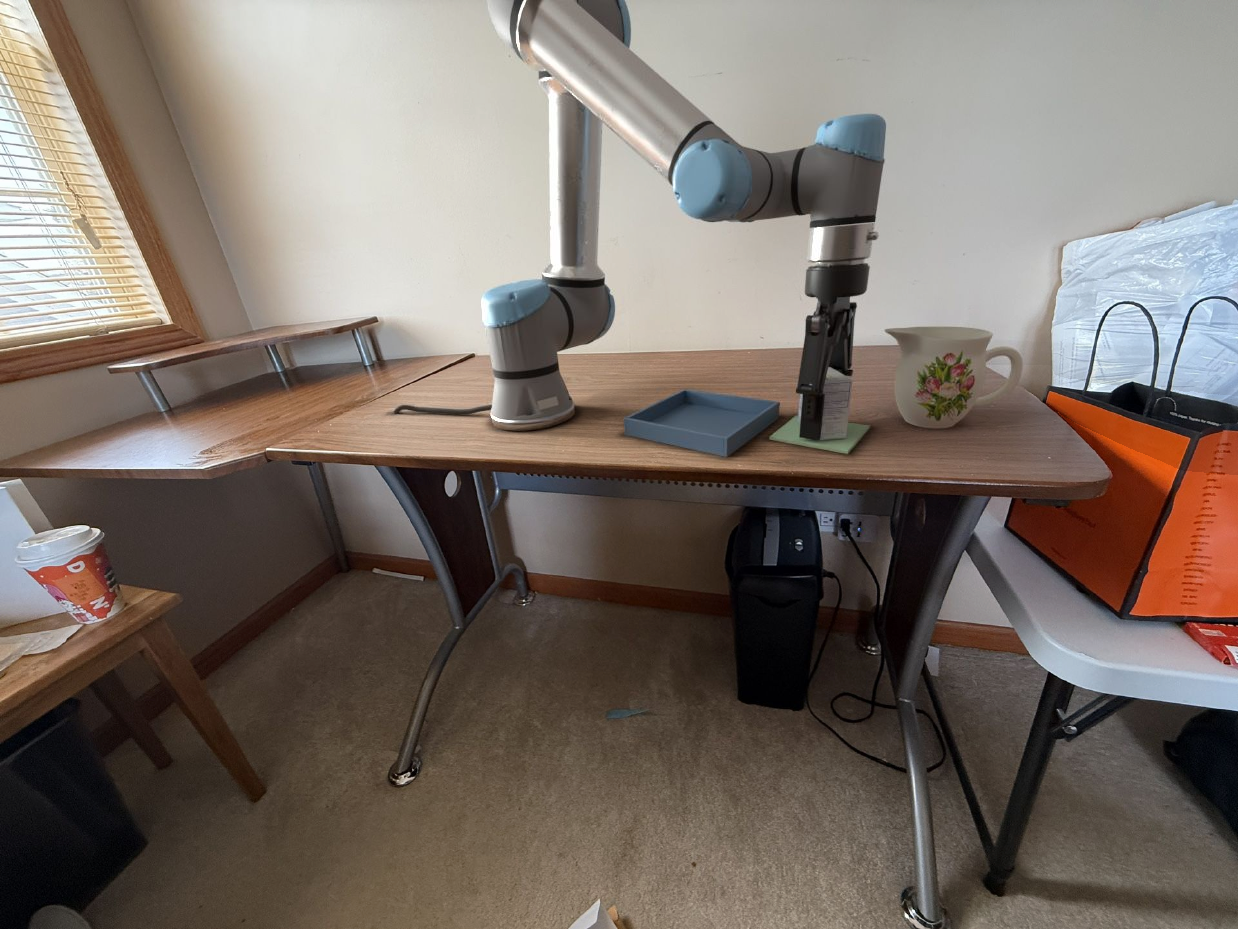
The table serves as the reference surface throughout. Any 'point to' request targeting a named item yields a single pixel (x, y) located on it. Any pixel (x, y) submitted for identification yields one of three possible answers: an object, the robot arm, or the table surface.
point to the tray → (703, 421)
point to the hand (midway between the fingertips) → (820, 427)
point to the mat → (792, 431)
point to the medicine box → (834, 405)
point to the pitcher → (946, 373)
